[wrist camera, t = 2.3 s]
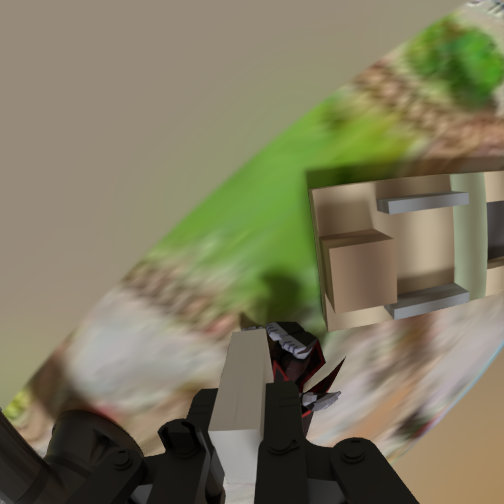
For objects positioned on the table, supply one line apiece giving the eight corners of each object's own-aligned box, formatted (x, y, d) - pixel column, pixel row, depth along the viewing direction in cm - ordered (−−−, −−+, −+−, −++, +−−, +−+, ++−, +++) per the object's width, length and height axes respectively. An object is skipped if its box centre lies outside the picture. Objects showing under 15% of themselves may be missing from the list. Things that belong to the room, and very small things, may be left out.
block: (324, 292, 28) (335, 314, 23) (318, 236, 27) (329, 248, 22) (377, 283, 28) (397, 302, 23) (373, 228, 27) (394, 238, 22)
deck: (323, 318, 32) (334, 347, 26) (307, 189, 29) (317, 190, 23) (516, 275, 30) (546, 289, 24) (515, 169, 27) (548, 170, 21)
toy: (311, 388, 20) (258, 494, 24) (382, 354, 25) (324, 457, 30) (218, 303, 28) (196, 416, 33) (293, 294, 34) (261, 396, 39)
